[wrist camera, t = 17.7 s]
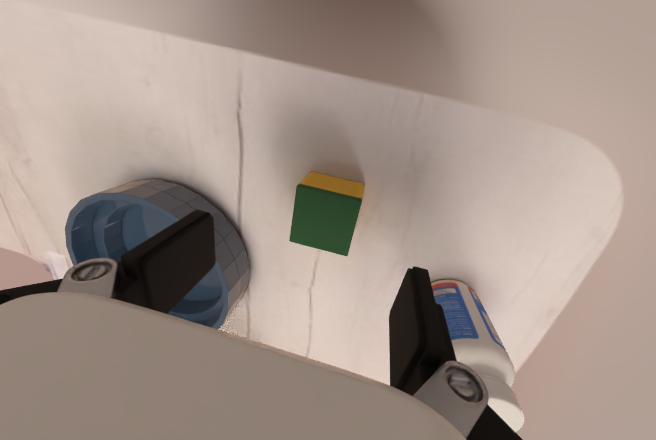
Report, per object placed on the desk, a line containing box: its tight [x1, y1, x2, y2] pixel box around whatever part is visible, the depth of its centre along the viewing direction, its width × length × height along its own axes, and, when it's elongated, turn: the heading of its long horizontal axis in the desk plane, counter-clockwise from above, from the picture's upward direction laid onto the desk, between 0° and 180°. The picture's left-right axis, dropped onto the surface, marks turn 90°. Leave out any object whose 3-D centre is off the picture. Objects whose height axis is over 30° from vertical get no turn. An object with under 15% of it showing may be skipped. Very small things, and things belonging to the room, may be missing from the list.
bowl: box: [65, 179, 249, 330], centre depth 25 cm, size 16×16×4 cm
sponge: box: [290, 172, 365, 256], centre depth 20 cm, size 4×4×4 cm
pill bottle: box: [431, 280, 524, 432], centre depth 19 cm, size 6×5×10 cm
